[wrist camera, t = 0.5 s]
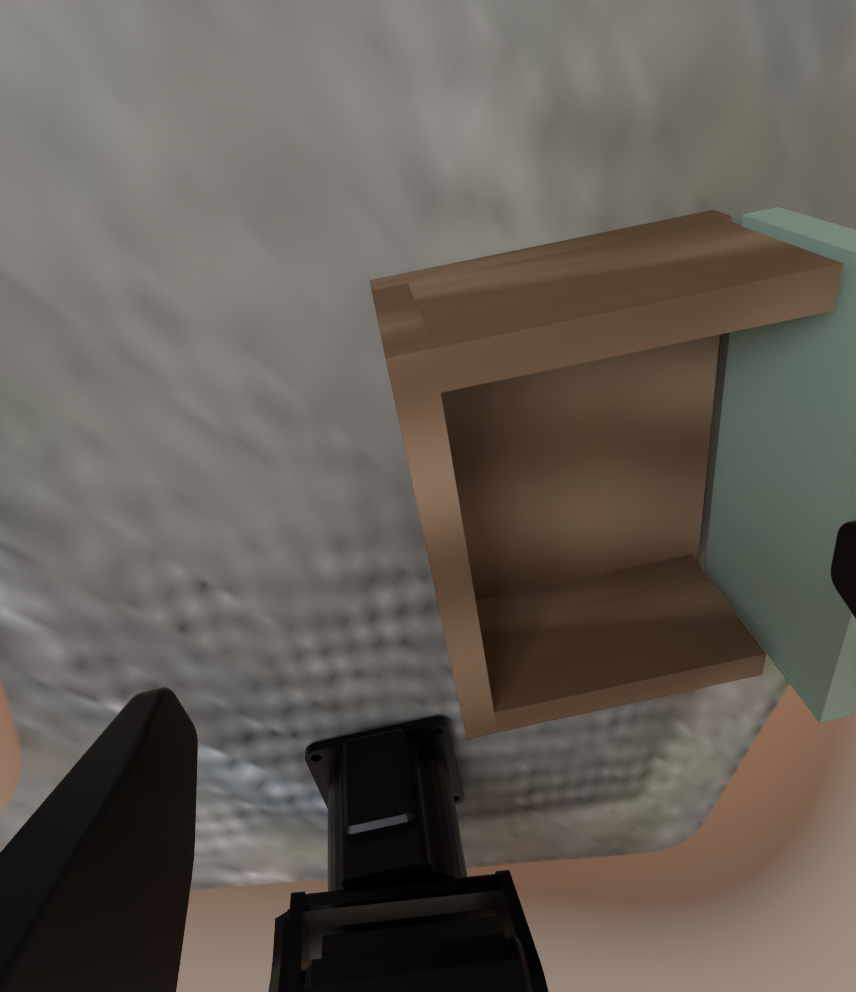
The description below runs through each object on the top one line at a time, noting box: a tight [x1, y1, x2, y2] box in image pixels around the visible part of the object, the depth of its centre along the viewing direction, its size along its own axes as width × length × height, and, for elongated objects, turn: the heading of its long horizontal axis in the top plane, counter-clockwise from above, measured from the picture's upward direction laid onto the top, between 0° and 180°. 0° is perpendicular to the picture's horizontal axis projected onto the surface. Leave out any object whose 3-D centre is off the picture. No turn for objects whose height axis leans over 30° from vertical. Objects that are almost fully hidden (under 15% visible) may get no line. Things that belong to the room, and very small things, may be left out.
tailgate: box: [704, 207, 856, 723], centre depth 18 cm, size 13×1×7 cm, turn 10°
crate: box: [370, 210, 843, 739], centre depth 19 cm, size 13×10×6 cm
